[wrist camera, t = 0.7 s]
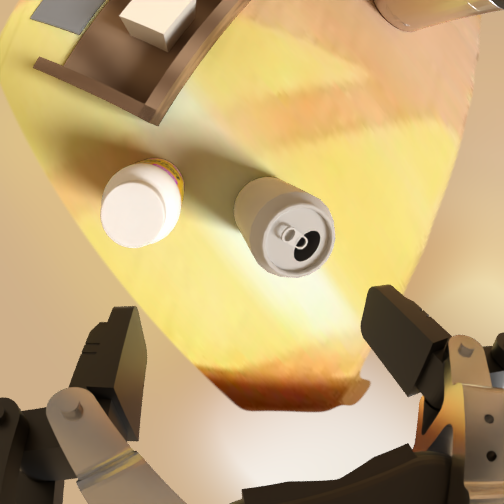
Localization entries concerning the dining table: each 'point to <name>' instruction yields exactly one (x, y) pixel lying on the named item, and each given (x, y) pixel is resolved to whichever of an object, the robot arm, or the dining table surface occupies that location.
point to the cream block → (158, 20)
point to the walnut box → (141, 59)
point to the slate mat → (67, 13)
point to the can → (284, 227)
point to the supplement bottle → (142, 202)
